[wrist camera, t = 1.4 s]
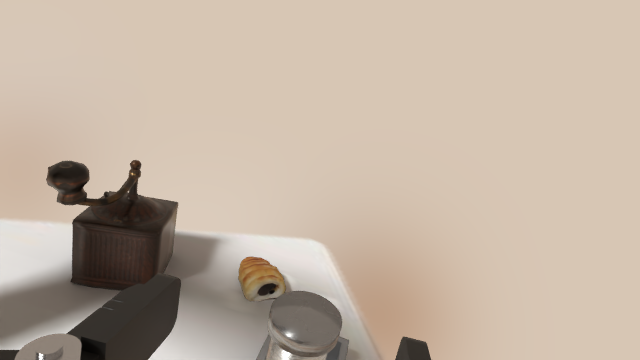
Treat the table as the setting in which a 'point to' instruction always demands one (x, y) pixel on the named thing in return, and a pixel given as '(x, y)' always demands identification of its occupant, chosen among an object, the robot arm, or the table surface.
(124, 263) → the manual coffee grinder
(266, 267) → the pastry
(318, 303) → the pin
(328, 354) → the tray
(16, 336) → the table surface
